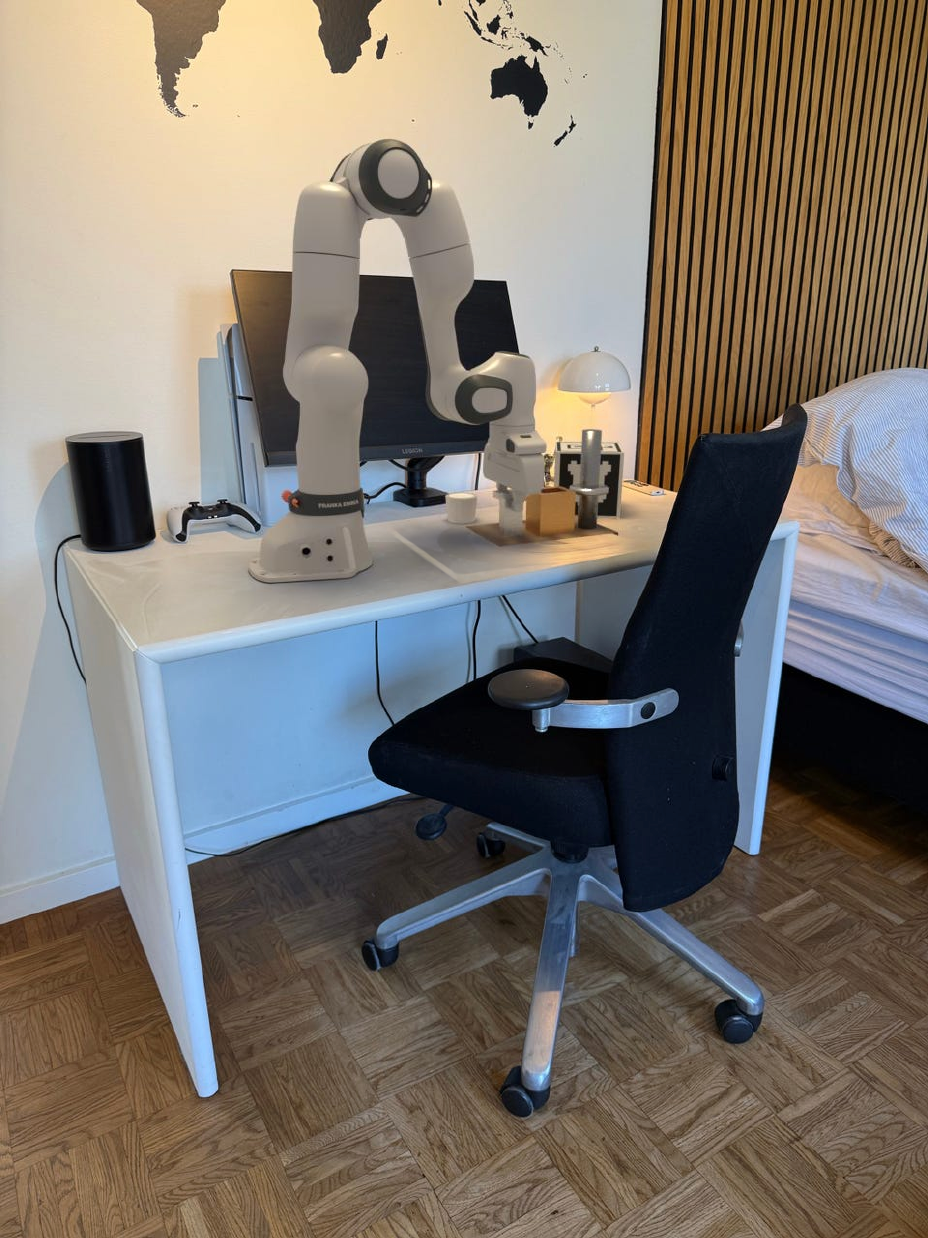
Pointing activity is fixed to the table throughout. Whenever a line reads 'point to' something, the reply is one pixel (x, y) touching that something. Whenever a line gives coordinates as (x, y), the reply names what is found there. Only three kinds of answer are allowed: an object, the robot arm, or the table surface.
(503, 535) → the wedge pin
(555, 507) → the ringlock node
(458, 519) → the white short cylinder
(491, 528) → the base board
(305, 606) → the table surface
